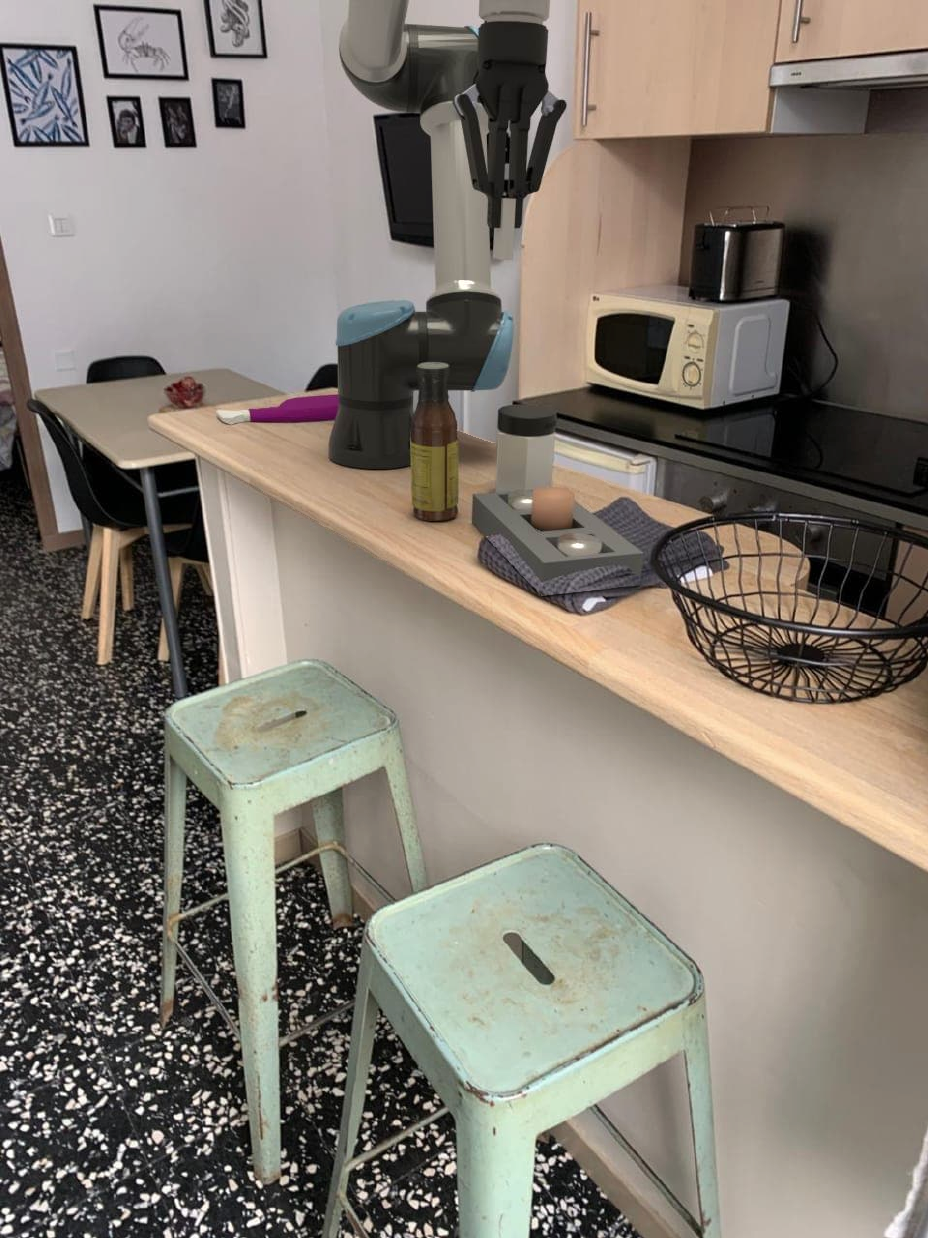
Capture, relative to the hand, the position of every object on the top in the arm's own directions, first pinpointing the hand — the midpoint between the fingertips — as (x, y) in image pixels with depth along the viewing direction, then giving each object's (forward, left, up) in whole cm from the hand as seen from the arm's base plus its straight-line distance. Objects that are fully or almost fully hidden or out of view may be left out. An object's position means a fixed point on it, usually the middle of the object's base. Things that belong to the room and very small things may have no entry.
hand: (502, 258), depth 110 cm
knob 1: (+5, +3, -32) cm, 33 cm away
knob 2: (+21, +3, -32) cm, 38 cm away
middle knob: (+13, +3, -29) cm, 32 cm away
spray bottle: (-61, -18, -33) cm, 72 cm away
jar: (-9, +8, -33) cm, 35 cm away
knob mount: (+13, +3, -32) cm, 35 cm away
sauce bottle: (-3, -7, -33) cm, 33 cm away
